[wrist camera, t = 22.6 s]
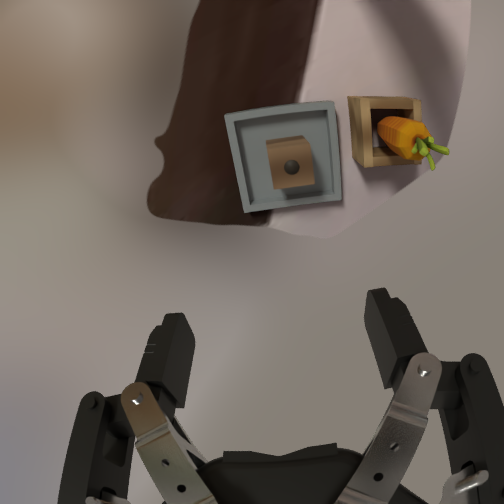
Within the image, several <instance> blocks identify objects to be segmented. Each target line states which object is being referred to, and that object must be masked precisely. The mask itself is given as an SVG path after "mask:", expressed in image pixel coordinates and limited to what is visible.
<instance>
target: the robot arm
mask: <svg viewBox="0 0 504 504" xmlns="http://www.w3.org/2000/svg"><path fill="white" fill-rule="evenodd" d="M364 320H365V321H364V322H365V327H366V330H367V333H368V336H369V339H370V342H371V345H372V349H373V352H374V355H375V358H376V361H377V365H378V368H379V371H380V374H381V378H382V381H383V385H384V389H387V388H393V391H394V395H393V398H392V400H391V402H390V404H389V406H388V408H387V410H386V412H385V415H384V416H383V419H382V421H381V422H380V424H379V426H378V428H377V430H376V432H375V434H374V435H373V437H372V439H371V440H370V442H369V444H368V446H367V447H366V449H365V451H364V453H363V454H360V453H358V452H355V451H353V450H349V449H343V448H337V443H332V444H326V445H319V446H312V447H307V448H304V449H301V450H298V451H295V452H292V453H289V454H286V455H282V456H274V455H268V454H262V453H257V452H252V451H224V453H223V457H220V458H217V459H214V460H212V461H210V462H208V461H207V460H206V459H205V458H204V457H203V455H202V454H201V453H200V452H199V451H198V449H197V448H196V447H195V446H194V444H193V443H192V441H191V440H190V438H189V437H188V435H187V434H186V432H185V431H184V429H183V428H182V426H181V424H180V423H179V421H178V420H177V418H176V416H175V415H174V414H175V408H184V406H185V400H186V394H187V388H188V383H189V377H190V371H191V366H192V361H193V355H194V350H195V338H194V334H193V332H192V330H191V328H190V326H189V324H188V322H187V320H186V318H185V315H184V314H183V313H169V314H166V315H165V316H164V320H163V322H162V325H160V326H156V327H155V329H154V330H153V331H152V332H151V334H150V336H149V339H148V342H147V346H146V348H145V353H144V354H143V357H142V360H141V364H140V367H139V370H138V373H137V376H136V380H135V382H134V383H132V384H130V385H128V386H127V387H126V388H125V389H124V390H123V392H122V394H118V395H114V396H110V397H104V396H103V395H102V394H101V393H99V392H96V391H93V392H90V393H88V394H86V395H85V396H84V397H83V398H82V400H81V402H80V405H79V408H78V412H77V415H76V419H75V422H74V426H73V430H72V433H71V437H70V441H69V446H68V450H67V454H66V459H65V463H64V468H63V473H62V478H61V484H60V490H59V496H58V504H130V502H129V501H127V494H128V485H129V477H130V469H131V461H132V455H133V448H134V441H135V436H136V438H137V442H136V443H135V446H136V449H137V451H138V453H139V455H140V457H141V459H142V461H143V463H144V465H145V467H146V469H147V471H148V472H149V474H150V476H151V477H152V480H153V481H154V483H155V485H156V487H157V488H158V490H159V492H160V493H161V495H162V497H163V498H164V500H165V501H164V502H163V503H162V504H428V503H427V502H425V501H424V500H422V499H421V498H420V497H418V496H416V495H415V494H414V493H413V492H411V491H410V490H408V489H407V488H406V487H404V486H403V485H402V484H400V482H401V480H402V478H403V476H404V474H405V472H406V470H407V468H408V466H409V464H410V462H411V460H412V458H413V456H414V454H415V452H416V450H417V447H418V445H419V443H420V441H421V438H422V436H423V433H424V431H425V428H426V426H427V422H428V418H427V415H428V412H429V409H438V410H439V414H440V418H441V422H442V426H443V431H444V435H445V439H446V444H447V450H448V455H449V461H450V467H451V473H452V476H450V477H449V478H448V479H447V481H446V482H445V484H444V487H443V494H442V499H441V502H440V503H439V504H504V406H503V403H502V400H501V397H500V394H499V392H498V389H497V386H496V384H495V381H494V378H493V376H492V373H491V371H490V369H489V366H488V364H487V362H486V360H485V359H484V358H483V357H482V356H481V355H478V354H475V353H471V354H468V355H466V356H464V357H463V359H462V360H461V362H445V361H440V360H439V359H438V358H437V357H436V356H434V355H433V354H430V353H429V352H428V351H427V349H426V347H425V344H424V342H423V340H422V338H421V335H420V333H419V331H418V329H417V327H416V325H415V323H414V321H413V319H412V317H411V316H410V313H409V311H408V309H407V306H406V305H405V304H404V303H403V302H402V301H401V300H400V299H399V298H390V296H389V294H388V291H387V290H386V288H379V289H373V290H369V291H368V292H367V298H366V306H365V314H364Z"/></svg>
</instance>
